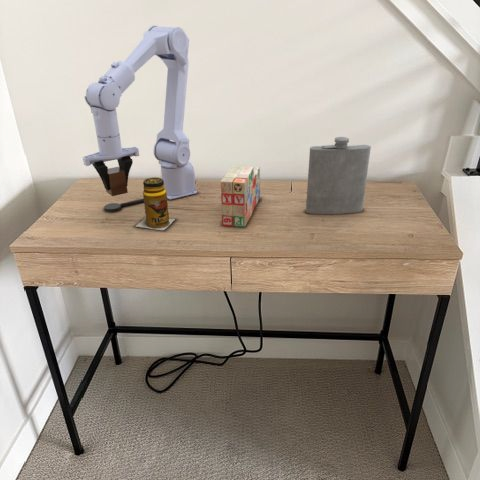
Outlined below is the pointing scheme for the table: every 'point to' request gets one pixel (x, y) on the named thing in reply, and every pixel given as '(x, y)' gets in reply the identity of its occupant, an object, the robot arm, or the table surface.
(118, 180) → the walnut block
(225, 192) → the stack of blocks
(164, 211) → the condiment
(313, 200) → the hip flask
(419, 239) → the table surface
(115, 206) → the serving spoon
